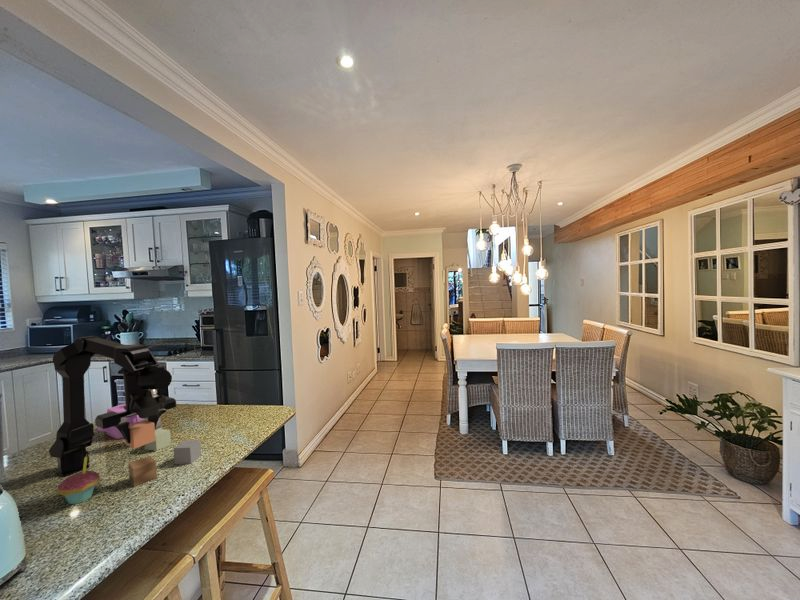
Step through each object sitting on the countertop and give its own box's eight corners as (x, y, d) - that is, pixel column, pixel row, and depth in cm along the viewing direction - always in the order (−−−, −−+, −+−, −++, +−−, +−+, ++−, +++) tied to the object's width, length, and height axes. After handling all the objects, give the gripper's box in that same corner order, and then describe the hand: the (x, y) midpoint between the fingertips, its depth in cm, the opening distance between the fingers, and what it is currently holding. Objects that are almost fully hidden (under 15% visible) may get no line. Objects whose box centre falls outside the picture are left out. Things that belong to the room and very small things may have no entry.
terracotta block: (134, 448, 98) (132, 429, 98) (125, 444, 101) (124, 426, 101) (155, 440, 103) (154, 422, 103) (146, 437, 106) (145, 419, 105)
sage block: (156, 451, 120) (155, 436, 120) (144, 450, 122) (143, 435, 121) (170, 444, 126) (169, 429, 125) (159, 443, 127) (158, 428, 127)
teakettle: (94, 442, 129) (91, 410, 129) (118, 425, 146) (116, 397, 145) (145, 436, 134) (143, 405, 133) (163, 419, 150) (162, 392, 150)
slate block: (191, 463, 111) (190, 447, 111) (174, 464, 111) (173, 448, 111) (201, 455, 116) (200, 439, 116) (185, 455, 116) (184, 440, 116)
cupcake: (97, 486, 100) (94, 446, 99) (104, 496, 94) (100, 454, 94) (56, 501, 93) (52, 458, 92) (60, 513, 88) (56, 468, 87)
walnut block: (134, 487, 98) (133, 469, 98) (129, 480, 102) (128, 463, 102) (156, 478, 103) (155, 461, 102) (151, 472, 106) (150, 455, 106)
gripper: (109, 401, 89) (114, 459, 90) (184, 382, 105) (187, 432, 106) (92, 396, 95) (96, 450, 95) (165, 378, 111) (169, 425, 111)
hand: (140, 439), depth 102 cm, fingers closed on terracotta block, 5 cm apart
